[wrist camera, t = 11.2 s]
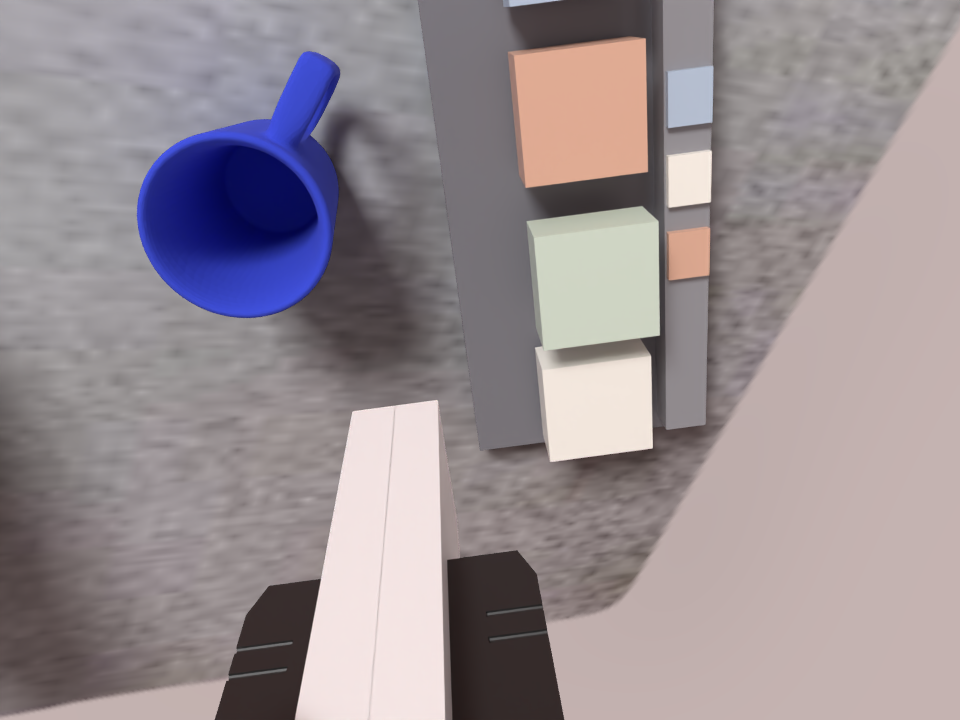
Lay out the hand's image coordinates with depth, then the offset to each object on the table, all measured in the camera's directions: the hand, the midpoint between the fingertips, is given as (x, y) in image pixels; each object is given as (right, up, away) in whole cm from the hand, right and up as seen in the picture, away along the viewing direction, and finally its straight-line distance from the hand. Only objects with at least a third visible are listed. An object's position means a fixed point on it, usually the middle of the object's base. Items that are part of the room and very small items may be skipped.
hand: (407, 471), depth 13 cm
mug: (-9, +13, +27) cm, 31 cm away
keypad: (+6, +12, +28) cm, 32 cm away
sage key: (+7, +7, +26) cm, 28 cm away
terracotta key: (+6, +15, +24) cm, 29 cm away
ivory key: (+8, 0, +31) cm, 32 cm away
